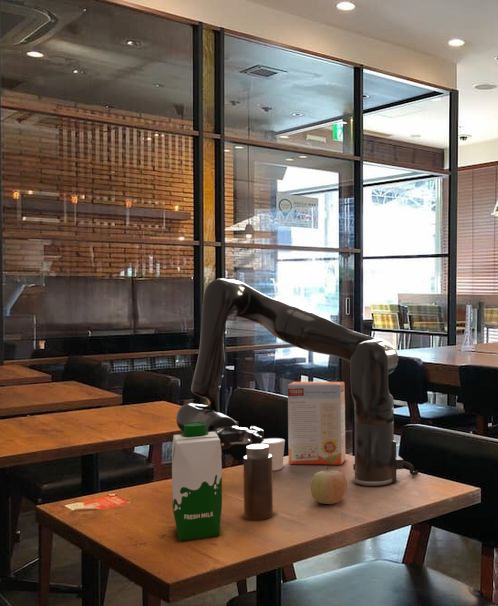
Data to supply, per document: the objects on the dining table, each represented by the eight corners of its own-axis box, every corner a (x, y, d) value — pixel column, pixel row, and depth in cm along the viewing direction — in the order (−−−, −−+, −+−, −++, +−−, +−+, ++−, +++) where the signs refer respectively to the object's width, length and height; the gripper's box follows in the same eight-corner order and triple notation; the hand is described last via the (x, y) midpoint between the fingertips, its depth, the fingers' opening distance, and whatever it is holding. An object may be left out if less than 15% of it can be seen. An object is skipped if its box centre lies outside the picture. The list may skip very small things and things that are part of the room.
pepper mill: (271, 510, 144) (270, 442, 144) (274, 518, 139) (273, 448, 139) (243, 512, 143) (242, 444, 142) (244, 521, 137) (244, 450, 137)
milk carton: (218, 521, 137) (217, 420, 137) (225, 537, 129) (224, 428, 129) (170, 528, 134) (169, 423, 133) (174, 544, 126) (173, 432, 125)
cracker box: (346, 459, 186) (345, 381, 185) (341, 465, 180) (340, 384, 179) (294, 458, 187) (293, 380, 187) (287, 464, 181) (287, 383, 181)
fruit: (317, 510, 144) (316, 471, 144) (306, 500, 151) (306, 463, 151) (352, 505, 147) (351, 467, 147) (340, 495, 154) (340, 459, 154)
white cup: (261, 472, 173) (261, 444, 173) (254, 466, 180) (254, 439, 179) (288, 469, 177) (288, 441, 176) (280, 463, 183) (280, 436, 182)
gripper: (186, 416, 160) (205, 429, 146) (247, 411, 167) (271, 422, 154) (186, 449, 160) (206, 465, 146) (247, 442, 168) (271, 456, 154)
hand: (239, 443), depth 150 cm, fingers open, 8 cm apart
